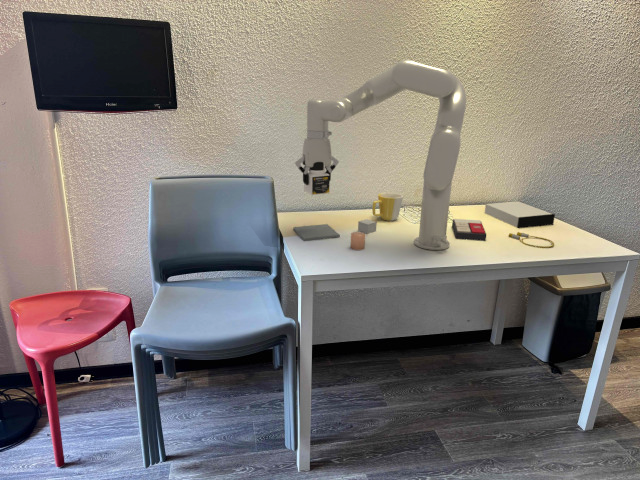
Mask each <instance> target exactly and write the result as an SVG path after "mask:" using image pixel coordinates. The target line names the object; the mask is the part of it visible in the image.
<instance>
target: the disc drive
mask: <svg viewBox="0 0 640 480" xmlns="http://www.w3.org/2000/svg"><path fill="white" fill-rule="evenodd" d="M484 206H485V207H484V214H485V215H488V216H490V217H492V218H494V219H497V220H499V221H502V222H504V223H506V224H507V225H511V226H513V227H515V228H516V229H525V228H534V227H535V228H536V227H546V226H553V225H554V223H555V218H556V217H555V216H556V214H555V213H550V212H548V211H545V210H542V209H540V208H537V207H534V206H532V205H529V204H526V203H523V202H521V201H519V200H518V201H508V202H507V201H506V202H495V203H485V205H484Z"/></svg>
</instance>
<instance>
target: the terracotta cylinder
mask: <svg viewBox="0 0 640 480" xmlns="http://www.w3.org/2000/svg"><path fill="white" fill-rule="evenodd" d="M365 248H366V233H363V232H360V231H356V232H355V231H354V232H351V233H350V249H352V250H354V251H363V250H365Z"/></svg>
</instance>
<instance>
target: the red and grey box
mask: <svg viewBox="0 0 640 480" xmlns="http://www.w3.org/2000/svg"><path fill="white" fill-rule="evenodd" d="M451 229H452V231H453V235H454V238H455V239H456V240H466V239H467V240H468V241H483V242H484V241H487V232H486V230H485V228H484V225H483V223H482V221H481V219H480V220H478V219H464V218H463V219H461V218H454V219H452V225H451Z"/></svg>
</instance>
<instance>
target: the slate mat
mask: <svg viewBox="0 0 640 480" xmlns="http://www.w3.org/2000/svg"><path fill="white" fill-rule="evenodd" d="M292 230H293V231H294V232H295V233H296V234H297V236H299V237H300V238H301V240H303V242H309V241H318V240H319V241H320V240H328V239H338V238H341V235H340V233H338V232H337V231H336V230H335V229H333V227H331V226H330V225H329V224H328V223H325V224H323V223H322V224H313V225H302V226H293V229H292Z"/></svg>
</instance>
